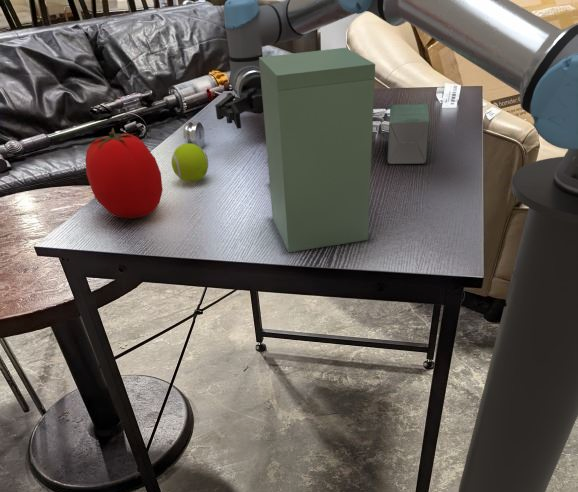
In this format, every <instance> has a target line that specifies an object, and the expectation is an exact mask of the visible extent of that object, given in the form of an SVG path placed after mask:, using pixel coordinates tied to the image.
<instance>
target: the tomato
mask: <svg viewBox="0 0 578 492" xmlns="http://www.w3.org/2000/svg"><path fill="white" fill-rule="evenodd" d="M137 133H139V132H137ZM135 134H136V132H135V133H121V134H116V132H115V129H114V127H112V128H111V131H110V132H108V135H109V136H107V135H106V136H102V137H99V138H96V139H95V140H93V141H91V142H90V145H89V146H88V147H87V149H86V154H85V174H86V177H87V180H88V183H89V187H90V189H91V191H92V194H93V196H94V198H95V199H96V200H97V202H98V203H99V204H100V205H101V206H102V207H103V208H104V209H105V210H106V212H108V213H110V214H111V215H113V216H114V217H116V218H117V217H118V218H123V219H129V220H130V219H135V218H136V219H137V218H142V217H146V216H147V215H150V214H151V213H153V212H154V211H155V210H157V207H158V206H159V204H160V202H161V198H162V195H163V190H164V189H163V181H162V180H163V179H162V173H161V169H160V167H159V165H158V162H157V160H156V157H155V156H154V155H153V153H152V152H151V151H150V150H149V149H148V147H147V146H146V144H145V143H144V141H142V140H141V139H140V138H139V137H137V136H135Z"/></svg>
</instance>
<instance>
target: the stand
mask: <svg viewBox="0 0 578 492" xmlns="http://www.w3.org/2000/svg"><path fill="white" fill-rule="evenodd" d="M259 63H260V75H261V87H262V99H263V110H264V113H263V121H264V135H265V144H266V145H265V146H266V156H267V168H268V180H269V192H270V203H271V215H272V221H273V223H274V225H275V227H276V229H277V231H278V233H279V236H280V237H281V240H282V242H283V244H284V246H285V248H286V250H287V252H288V253H294V252H301V251H307V250H314V249H319V248H326V247H332V246H333V247H334V246H338V245H344V244H345V245H346V244H351V243H358V242H363V241H368V240H369V225H370V223H369V221H370V202H371V201H370V200H371V199H370V197H371V179H372V178H371V177H372V175H371V174H372V153H373V152H372V149H373V129H374V127H373V126H374V102H375V101H374V100H375V79H376V63H375V62H373V61H371V60H370V59H367V58H365V57H364V56H362V55H360V54H358V53H357V52H355V51H353V50H351V49H349V48H347V47H340V48H339V47H338V48H330V49H322V50H321V49H319V50H313V51H303V52H295V53H286V54H277V55H267V56H263V57H259Z"/></svg>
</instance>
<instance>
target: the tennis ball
mask: <svg viewBox="0 0 578 492" xmlns="http://www.w3.org/2000/svg"><path fill="white" fill-rule="evenodd" d="M171 168H172V170H173V172H174V174H175V175H176V176H177V178H179V179H180V180H182V181H183V182H185V183H196V182H199V181H201V180H202V179H203V178H205V176H206V175H207V173H208V169H209V158H208V155H207V153H206V152H205V151H204V150H203V148H200V147H199V146H197V145H195V144H191V143H187V144H186V143H183V144H180V145H179V146H177V148H176V149H174V151H173V154H172V156H171Z"/></svg>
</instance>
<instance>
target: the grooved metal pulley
mask: <svg viewBox="0 0 578 492" xmlns="http://www.w3.org/2000/svg"><path fill="white" fill-rule="evenodd" d="M205 138H206V135H205V128H204V126H203V123H202V122H200V121H196V122H191V121H188V122H186V123H185V124H184V126H183V140H184V144H187V143H191V144H195V145H197V146H199V147H200V148H201V149H203V147H204V146H205V140H206V139H205Z"/></svg>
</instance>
